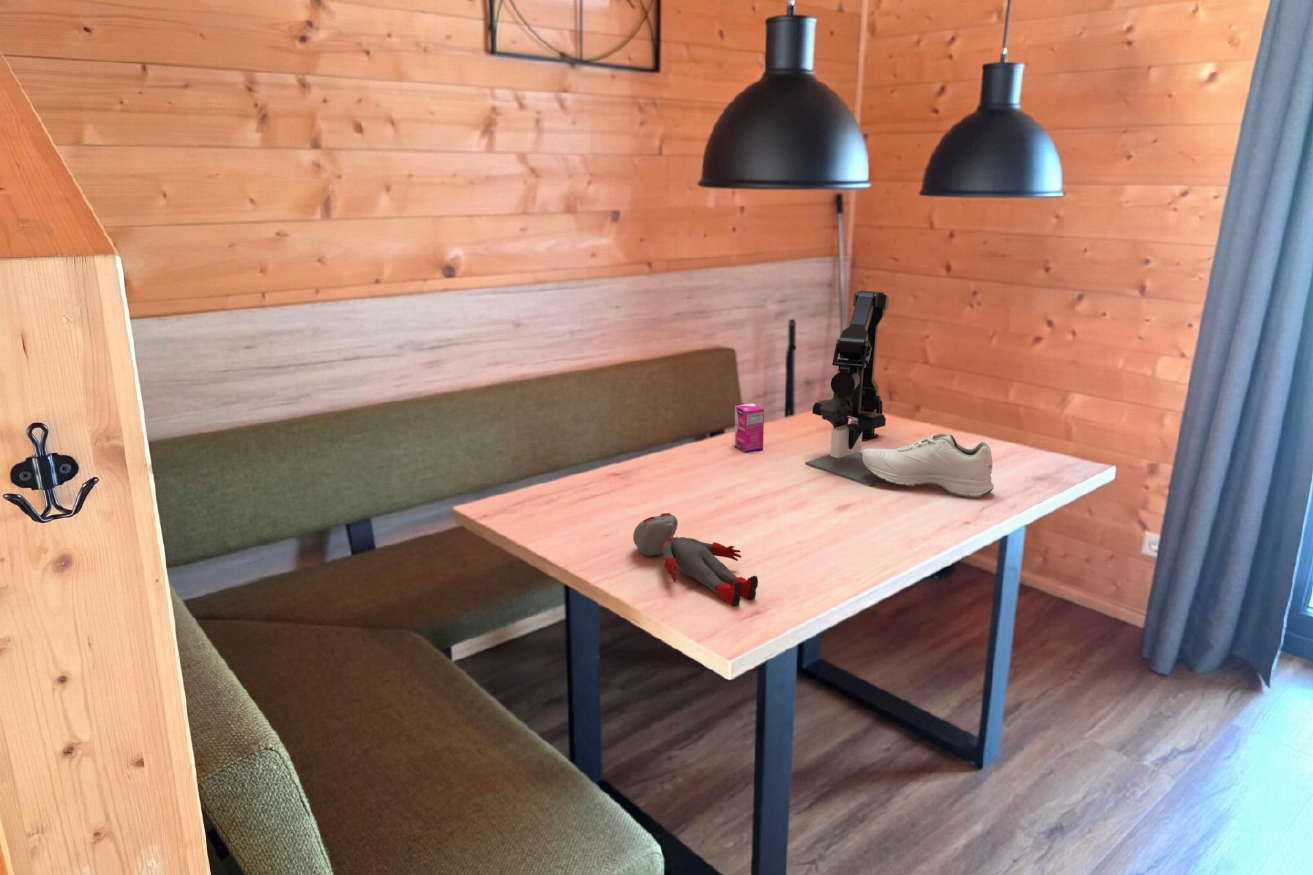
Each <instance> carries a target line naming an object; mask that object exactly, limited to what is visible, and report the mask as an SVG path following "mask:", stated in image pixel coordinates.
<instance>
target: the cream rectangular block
mask: <svg viewBox="0 0 1313 875" xmlns="http://www.w3.org/2000/svg"><path fill="white" fill-rule="evenodd" d="M849 424H851V422H850V423H849ZM830 437H831V438H830V450H829V455H830V456H833V457H836V458H840V457H843V456H846V455H849V454H852V453H856V452H862V442H863V440H862V433H861V434H860V436H859V438H858V440H857V441H856V443H855V445H854V447H853V448H852V449H849V444H848V443H849V428H848V427H847V425H843V426H839V427H836V428H834V427H833V428H831V434H830Z"/></svg>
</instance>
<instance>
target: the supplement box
mask: <svg viewBox="0 0 1313 875" xmlns="http://www.w3.org/2000/svg"><path fill="white" fill-rule="evenodd" d="M764 426H765V408H763V407H761V406H759V405H757V404H756V403H754V402H753V403H746V404H740V405H735V406H734V444H733V445H734V447H735V448H736V449H738V450H740V451H742V452H744V453H745V454H746V453H752V452H760V451H764V433H765V432H764V431H765V430H764Z"/></svg>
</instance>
